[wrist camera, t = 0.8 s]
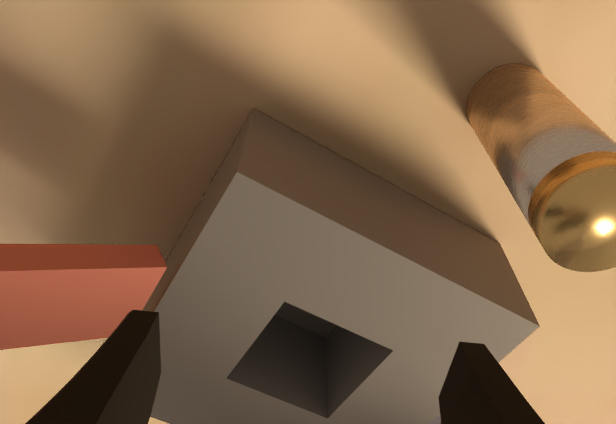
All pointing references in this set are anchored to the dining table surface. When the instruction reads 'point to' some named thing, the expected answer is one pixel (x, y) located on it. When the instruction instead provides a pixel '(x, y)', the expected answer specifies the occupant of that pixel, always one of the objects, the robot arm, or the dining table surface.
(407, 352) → the pin block
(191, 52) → the dining table surface
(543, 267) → the dining table surface
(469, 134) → the dining table surface
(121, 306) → the bar
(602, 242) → the pin
